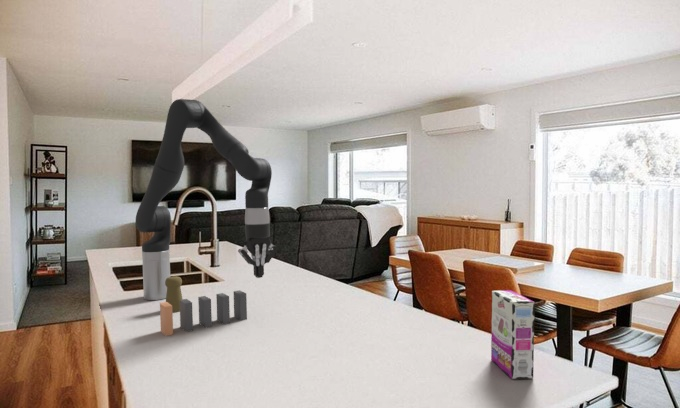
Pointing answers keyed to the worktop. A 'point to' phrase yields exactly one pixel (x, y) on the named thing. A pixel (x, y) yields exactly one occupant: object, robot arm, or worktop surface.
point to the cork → (174, 292)
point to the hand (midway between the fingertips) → (259, 277)
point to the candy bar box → (513, 334)
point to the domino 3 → (223, 308)
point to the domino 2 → (205, 311)
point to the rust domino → (166, 318)
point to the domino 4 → (240, 305)
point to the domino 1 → (186, 315)
